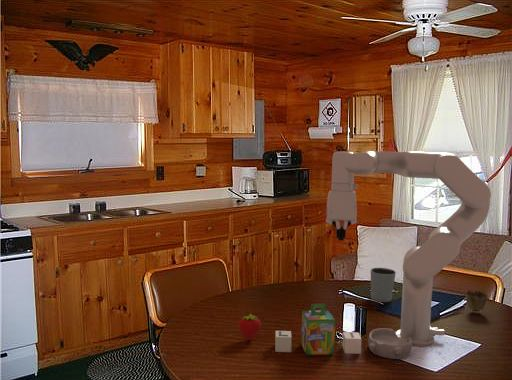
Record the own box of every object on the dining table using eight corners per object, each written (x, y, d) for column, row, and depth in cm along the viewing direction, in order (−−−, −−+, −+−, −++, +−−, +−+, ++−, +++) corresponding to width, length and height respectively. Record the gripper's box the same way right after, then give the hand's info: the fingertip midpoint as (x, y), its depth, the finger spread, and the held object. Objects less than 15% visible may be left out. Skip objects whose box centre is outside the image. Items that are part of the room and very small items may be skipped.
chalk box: (306, 356, 162) (307, 310, 160) (300, 344, 171) (301, 300, 169) (335, 355, 163) (336, 309, 161) (327, 343, 172) (329, 299, 170)
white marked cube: (290, 345, 170) (290, 330, 169) (291, 352, 165) (291, 336, 164) (275, 345, 170) (275, 330, 169) (275, 351, 165) (275, 336, 164)
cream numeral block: (357, 347, 169) (358, 332, 169) (360, 353, 165) (361, 338, 164) (342, 346, 170) (343, 331, 169) (344, 353, 165) (345, 338, 164)
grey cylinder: (364, 296, 220) (365, 268, 218) (383, 293, 224) (385, 266, 222) (379, 304, 211) (381, 275, 209) (399, 300, 215) (400, 272, 213)
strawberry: (237, 337, 176) (237, 308, 175) (259, 335, 177) (259, 307, 176) (239, 344, 170) (239, 315, 169) (262, 343, 171) (262, 313, 170)
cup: (482, 310, 205) (483, 290, 204) (488, 316, 198) (490, 296, 197) (462, 309, 206) (464, 289, 205) (468, 316, 199) (469, 295, 198)
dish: (379, 338, 177) (379, 324, 176) (418, 350, 168) (419, 335, 167) (358, 352, 166) (359, 337, 165) (399, 365, 157) (400, 349, 156)
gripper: (362, 186, 182) (360, 237, 184) (319, 185, 182) (318, 237, 185) (366, 189, 175) (364, 242, 177) (321, 188, 175) (320, 241, 177)
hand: (340, 239), depth 181 cm, fingers closed
